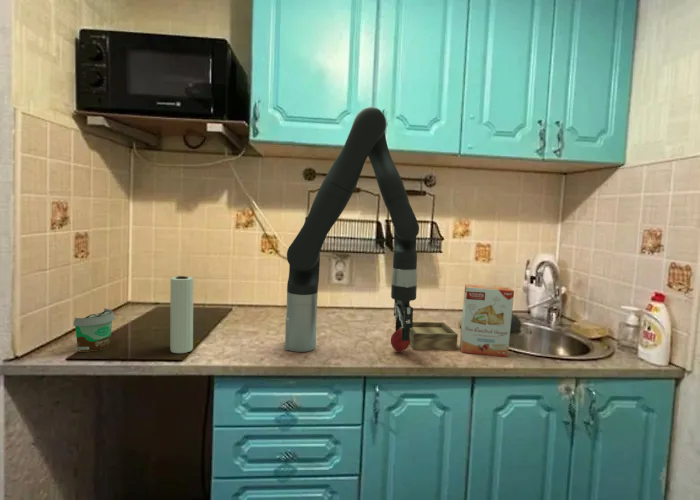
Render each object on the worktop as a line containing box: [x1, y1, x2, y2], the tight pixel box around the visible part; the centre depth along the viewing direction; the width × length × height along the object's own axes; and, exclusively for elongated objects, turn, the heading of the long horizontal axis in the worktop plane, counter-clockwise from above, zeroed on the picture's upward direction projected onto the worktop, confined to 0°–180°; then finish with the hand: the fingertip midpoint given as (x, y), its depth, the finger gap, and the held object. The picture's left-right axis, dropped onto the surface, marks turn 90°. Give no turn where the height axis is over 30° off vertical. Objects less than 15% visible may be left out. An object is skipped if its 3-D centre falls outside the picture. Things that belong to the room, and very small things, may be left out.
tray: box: [406, 321, 458, 351], centre depth 142 cm, size 14×14×5 cm
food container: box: [72, 308, 116, 351], centre depth 123 cm, size 12×6×10 cm, turn 171°
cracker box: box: [459, 283, 515, 357], centre depth 134 cm, size 14×6×21 cm, turn 82°
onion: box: [390, 327, 410, 354], centre depth 131 cm, size 6×6×8 cm
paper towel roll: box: [169, 275, 194, 354], centre depth 124 cm, size 7×6×21 cm
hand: (402, 336), depth 131 cm, fingers open, 8 cm apart
